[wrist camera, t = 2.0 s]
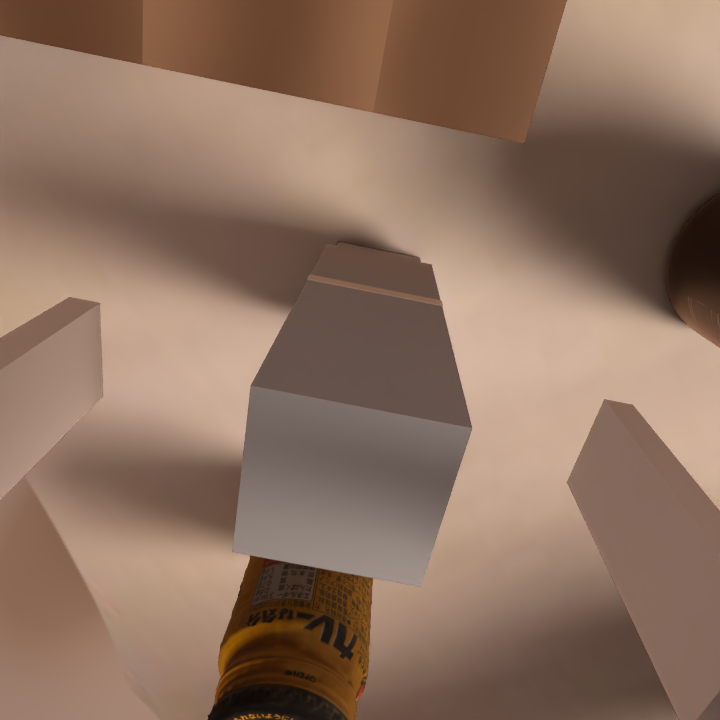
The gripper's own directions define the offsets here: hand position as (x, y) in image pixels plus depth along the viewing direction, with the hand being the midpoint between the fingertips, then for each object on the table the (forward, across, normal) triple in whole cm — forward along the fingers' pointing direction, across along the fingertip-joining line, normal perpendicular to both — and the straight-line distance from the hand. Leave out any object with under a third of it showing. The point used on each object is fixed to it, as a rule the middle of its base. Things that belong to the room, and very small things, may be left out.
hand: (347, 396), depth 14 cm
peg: (+10, 0, 0) cm, 10 cm away
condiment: (+10, 0, +13) cm, 17 cm away
